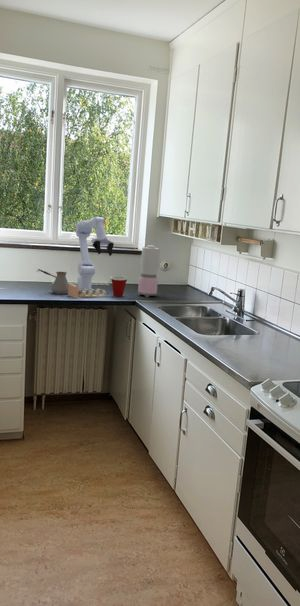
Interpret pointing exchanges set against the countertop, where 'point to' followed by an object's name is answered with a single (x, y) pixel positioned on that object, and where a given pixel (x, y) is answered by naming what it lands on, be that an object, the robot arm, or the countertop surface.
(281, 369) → the countertop surface
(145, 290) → the blender
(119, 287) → the plastic cup
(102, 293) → the dish rack
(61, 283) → the coffee pot
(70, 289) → the upright peach slab
